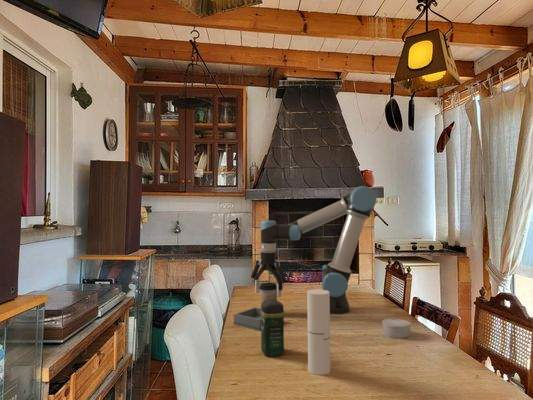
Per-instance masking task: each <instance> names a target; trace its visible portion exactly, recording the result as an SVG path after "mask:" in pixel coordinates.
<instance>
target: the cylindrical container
mask: <svg viewBox="0 0 533 400" xmlns="http://www.w3.org/2000/svg"><path fill="white" fill-rule="evenodd" d="M306 295H307V296H306V297H307V298H306V299H307V305H306V306H307V371H308V372H309V373H310V374H313V375H316V376H324V375H328V374H330V373H331V313H330V293H329V291H327V290H323V289H309V290H307V291H306Z"/></svg>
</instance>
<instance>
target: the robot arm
mask: <svg viewBox="0 0 533 400" xmlns="http://www.w3.org/2000/svg"><path fill="white" fill-rule="evenodd" d="M376 203H377V194H376V192H375V191H374V190H373V189H372V188H370V187H368V186H367V185H360V186H359V185H358V186H357V187H355V188H354V189H353V190H351V192H349V193H348V194H346V195H345V196H342V197H341V199H340V200H338V201H336V202H334V203H331V204H330V205H327V206H325V207H323V208H321V209H318V210H316V211H314V212H312V213H309V214H307V215H305V216H303V217H301V218H299V219H297V220H295V221H293V222H291V223H288V224H277V222H276V220H261V224H260V259H258V260H256V261H255V265H254V268H253V269H252V272H251V274H250V278H251V279H253V286H254V294H259V293H261V291H260V289H259V286H260V285H261V283H260V281H261V280H260V277H261V276H262V274H263V273H264V271H267V272H271V273H272V275H273V276H274V278H275V280H276V282H277V283H276V284H277V298H279V297H282V291H283V285H284V283H287V279H286V277H285V274H284V270H283V268H282V263H281V262H280V261H279V262H276V258H277V256H276V255H277V254H276V253H277V252H276V251H277V241H299V240H300V239H301V235H302V234H305V233H307V232H310V231H312V230H313V229H316V228H318V227H320V226H322V225H324V224H328V223H330V222H331V221H334V220H336V219H338V218H340V217H342V216H344V215H347V216H346V218H345V221H344V225H343V227H342V230H341V234H340V235H339V240H338V243H337V246H336V249H335V251H334V255H333V258H332V261H331V262H329V263H327V264H324V265H322V270H321V271H322V280H321V287H322V290H327V291H329V293H330V314H345V313H348V312H350V303H349V301H348V298H347V290H348V288H349V287H348V286H349V280H350V278H351V275H352V271H351V270H352V269H350V268H351V264H352V261H353V259H354V255H355V253H356V249H357V246H358V243H359V240H360V237H361V235H362V231H363V228H364V225H365V222H366V220H369V219H370V218H371V215H372V211H373V209H374V207H375V205H376Z"/></svg>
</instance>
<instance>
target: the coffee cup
mask: <svg viewBox="0 0 533 400" xmlns="http://www.w3.org/2000/svg"><path fill="white" fill-rule="evenodd" d="M259 289H260V301H261V302H260V305H261V304H262V302H263V301H265V300H267V299H275V300H277V301H278V297H277V283H276V282H262V283H260V286H259Z"/></svg>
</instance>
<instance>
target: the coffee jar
mask: <svg viewBox="0 0 533 400" xmlns="http://www.w3.org/2000/svg"><path fill="white" fill-rule="evenodd" d="M260 308H261V330H260V331H261V332H260V333H261V335H260V339H261V340H260V341H261V342H260V347H261V352H262V353H263V355H264V356H269V357H279V356H281V355H283V354H284V353H285V339H284V337H285V331H284V330H285V329H284V326H285V325H284V323H285V322H284V321H285V319H284V317H285V315H284V314H285V313H284V312H285V310H284V304H283V303H282V302H280V301H279V300H278V299H277V300H275V299H267V300H265V301H263V302H262V304H261V303H260Z"/></svg>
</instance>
